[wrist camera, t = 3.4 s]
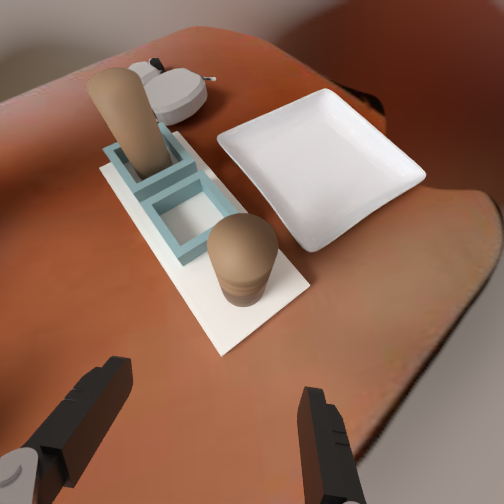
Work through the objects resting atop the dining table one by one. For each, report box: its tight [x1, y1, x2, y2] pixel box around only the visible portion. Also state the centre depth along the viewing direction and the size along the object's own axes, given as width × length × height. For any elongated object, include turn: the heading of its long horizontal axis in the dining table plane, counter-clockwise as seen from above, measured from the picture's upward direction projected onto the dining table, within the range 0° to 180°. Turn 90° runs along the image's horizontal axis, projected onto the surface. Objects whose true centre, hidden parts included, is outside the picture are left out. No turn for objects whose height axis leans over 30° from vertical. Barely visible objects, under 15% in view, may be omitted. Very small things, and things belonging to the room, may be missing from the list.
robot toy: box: [127, 58, 216, 126], centre depth 37 cm, size 12×4×15 cm
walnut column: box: [207, 213, 279, 307], centre depth 21 cm, size 5×5×11 cm
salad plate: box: [217, 89, 426, 252], centre depth 33 cm, size 21×21×3 cm
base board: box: [86, 68, 310, 357], centre depth 24 cm, size 12×29×12 cm, turn 37°
